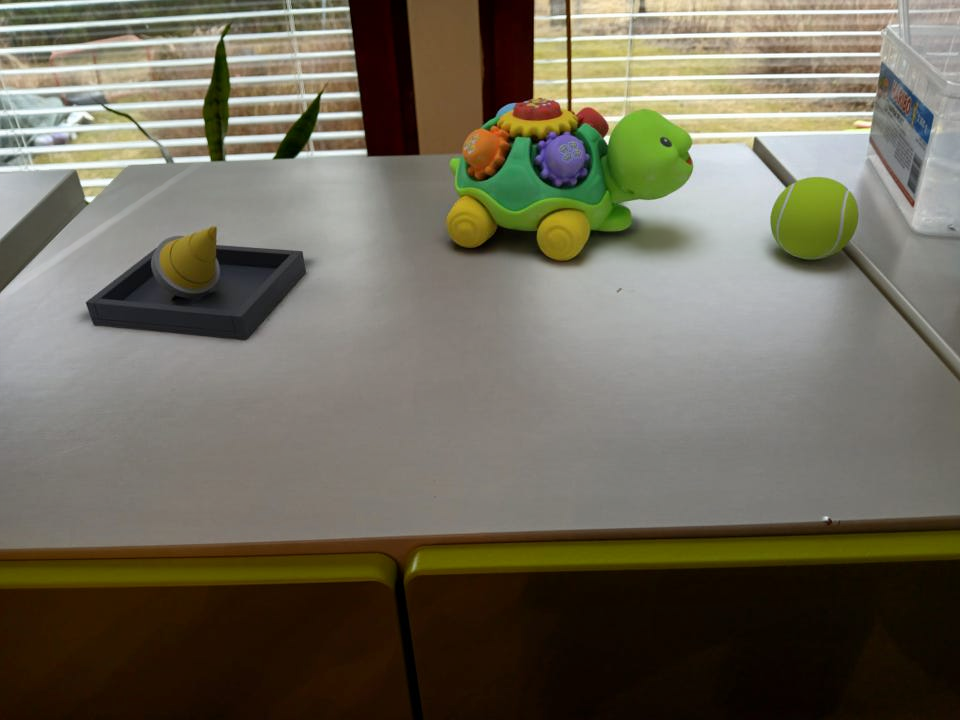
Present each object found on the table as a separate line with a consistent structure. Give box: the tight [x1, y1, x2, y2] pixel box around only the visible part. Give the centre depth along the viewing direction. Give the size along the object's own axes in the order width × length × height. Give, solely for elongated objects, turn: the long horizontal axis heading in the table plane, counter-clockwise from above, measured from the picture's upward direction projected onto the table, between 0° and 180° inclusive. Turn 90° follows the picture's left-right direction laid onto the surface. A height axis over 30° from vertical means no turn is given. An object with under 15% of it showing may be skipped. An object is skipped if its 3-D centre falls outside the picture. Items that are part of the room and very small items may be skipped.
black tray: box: [85, 244, 307, 340], centre depth 67 cm, size 14×12×2 cm
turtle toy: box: [445, 97, 694, 262], centre depth 74 cm, size 17×23×12 cm
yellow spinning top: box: [151, 225, 220, 299], centre depth 65 cm, size 5×5×10 cm
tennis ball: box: [770, 176, 859, 261], centre depth 68 cm, size 7×7×7 cm
